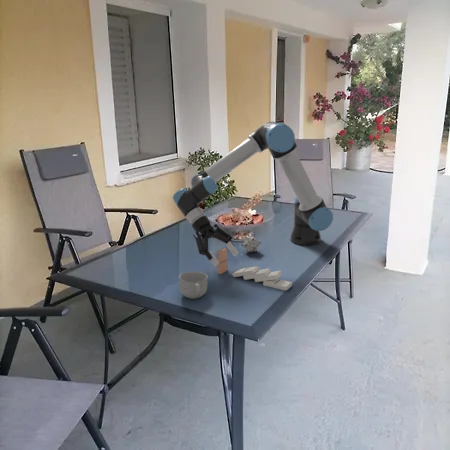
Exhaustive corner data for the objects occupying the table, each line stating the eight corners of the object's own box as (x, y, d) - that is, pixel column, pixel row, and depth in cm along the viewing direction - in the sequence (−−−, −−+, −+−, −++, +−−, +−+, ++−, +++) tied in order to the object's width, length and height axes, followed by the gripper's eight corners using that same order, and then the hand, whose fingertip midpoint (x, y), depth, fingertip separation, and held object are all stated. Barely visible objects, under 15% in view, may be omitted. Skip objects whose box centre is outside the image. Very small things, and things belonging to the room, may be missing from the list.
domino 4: (254, 278, 175) (276, 274, 170) (258, 274, 179) (280, 270, 174) (255, 282, 175) (277, 278, 170) (260, 277, 180) (282, 274, 175)
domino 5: (263, 281, 173) (286, 286, 167) (269, 277, 176) (291, 282, 171) (263, 285, 173) (286, 290, 168) (269, 281, 177) (291, 286, 172)
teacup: (180, 290, 171) (179, 271, 169) (208, 288, 172) (207, 269, 170) (179, 306, 158) (178, 286, 155) (209, 304, 159) (208, 284, 156)
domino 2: (232, 273, 181) (252, 270, 175) (238, 269, 185) (258, 265, 179) (233, 277, 181) (253, 274, 175) (239, 273, 185) (259, 269, 180)
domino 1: (217, 273, 186) (216, 251, 183) (224, 269, 189) (223, 247, 186) (220, 274, 184) (219, 252, 182) (227, 270, 188) (227, 248, 185)
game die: (254, 260, 208) (259, 248, 200) (237, 253, 209) (241, 241, 201) (259, 246, 214) (264, 234, 206) (243, 239, 215) (247, 227, 207)
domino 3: (243, 276, 178) (264, 272, 173) (248, 271, 182) (269, 268, 177) (244, 280, 178) (266, 276, 173) (249, 275, 182) (270, 271, 177)
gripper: (212, 218, 200) (239, 255, 196) (174, 232, 182) (203, 274, 177) (220, 208, 196) (248, 246, 191) (182, 222, 177) (213, 264, 173)
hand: (227, 259), depth 184 cm, fingers open, 13 cm apart
